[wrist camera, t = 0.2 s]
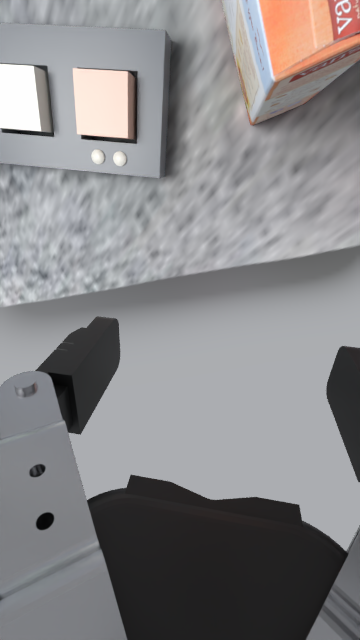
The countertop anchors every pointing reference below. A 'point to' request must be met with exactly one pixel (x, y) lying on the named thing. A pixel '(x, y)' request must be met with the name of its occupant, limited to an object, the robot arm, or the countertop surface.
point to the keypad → (59, 60)
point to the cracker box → (290, 49)
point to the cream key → (25, 99)
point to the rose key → (105, 103)
